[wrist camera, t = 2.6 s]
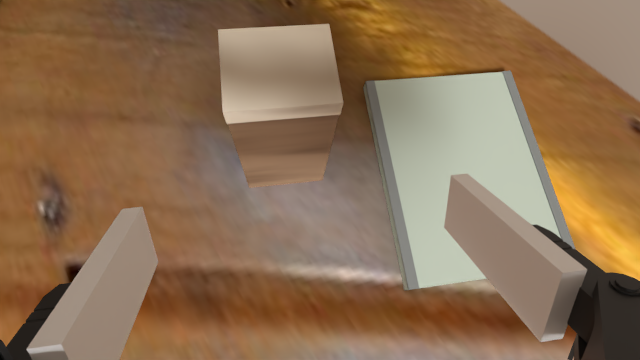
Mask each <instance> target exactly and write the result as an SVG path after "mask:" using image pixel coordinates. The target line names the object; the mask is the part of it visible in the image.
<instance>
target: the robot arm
mask: <svg viewBox="0 0 640 360" xmlns="http://www.w3.org/2000/svg"><path fill="white" fill-rule="evenodd" d="M444 228H445V229H446V230H447V231H448V233H449V234H450V235H451V236H452V237H453V239H454V240H455V241H456V242H457V243H458V245H459V246H460V247H461V248H462V249H463V250H464V252H465V253H466V254H467V255H468V256H469V258H470V259H471V260H472V261H473V262H474V264H475V265H476V266H477V267H478V268H479V270H480V271H481V272H482V273H483V274H484V276H485V277H486V278H487V279H488V280H489V281H490V283H491V284H492V285H493V286H494V287H495V289H496V290H497V291H498V292H499V293H500V295H501V296H502V297H503V298H504V299H505V301H506V302H507V303H508V304H509V305H510V306H511V308H512V309H513V310H514V311H515V312H516V314H517V315H518V316H519V317H520V318H521V320H522V321H523V322H524V323H525V324H526V326H527V327H528V328H529V329H530V330H531V331H532V333H533V334H534V335H535V336H536V337H537V339H538V340H539V341H540V342H544V341H550V340H556V339H562V338H563V336H564V333H565V330H566V328H567V325H569V326H570V327H571V328H572V329H573V330H574V331H575V332H576V333H577V335H576V338H575V341H574V343H573V346H572V348H571V351H570V354H569V356H568V359H569V360H572V359H573V357H574V360H640V281H638V280H637V279H635V278H632V277H629V276H626V275H624V274H618V273H605V272H604V271H603V270H601V269H600V268H599V267H598V266H596V265H595V264H594V263H592V262H591V261H590V260H588V259H587V258H586V257H584V256H583V255H582V254H581V253H579V252H578V251H577V250H575V249H572V247H571V246H570V245H569V244H568V243H566V242H563V240H562V239H561V238H560V237H558V236H557V235H556V234H554V233H553V232H552V231H550V230H548V229H546V228H543V227H541V226H539V225H537V224H536V225H531V224H530V223H529V222H527V221H526V220H525V219H524V218H522V217H521V216H520V215H519V214H517V213H516V212H515V211H514V210H512V209H511V208H510V207H509V206H507V205H506V204H505V203H504V202H502V201H501V200H500V199H499V198H497V197H496V196H495V195H494V194H492V193H491V192H490V191H489V190H487V189H486V188H485V187H483V186H482V185H481V184H480V183H478V182H477V181H476V180H475V179H473V178H472V177H471V176H470V175H468V174H457V175H451V179H450V186H449V194H448V202H447V209H446V217H445V224H444ZM157 264H158V259H157V256H156V252H155V249H154V245H153V242H152V238H151V235H150V232H149V228H148V225H147V221H146V218H145V214H144V211H143V208H142V207H136V208H127V209H122V210H121V212H120V213H119V214H118V216H117V217H116V219H115V220H114V222H113V223H112V225H111V226H110V228H109V229H108V231H107V232H106V233H105V235H104V236H103V238H102V239H101V241H100V242H99V244H98V245H97V247H96V248H95V250H94V251H93V252H92V254H91V255H90V257H89V258H88V260H87V261H86V263H85V264H84V266H83V267H82V268H81V270H80V271H79V273H78V274H77V276H76V277H75V279H74V280H73V282H72V283H67V284H59V285H58V286H57V287H55V288H54V289H53V290H52V291H50V292H49V293H48V294H47V295H45V296H44V297H43V298H42V300H41V301H40V303H39V304H38V305H37V307H36V308H35V309H34V312H33V313H31V315H30V316H29V317H28V319H27V320H26V323H25V324H23V325H22V327H21V328H20V329H19V331H18V332H17V333H16V335H15V336H14V337H13V339H12V340H11V341H10V343H9V344H8V345H7V347H6V346H5V345H4V343H3V341H1V340H0V360H119V359H120V356H121V354H122V351H123V349H124V346H125V344H126V341H127V339H128V336H129V334H130V331H131V329H132V326H133V324H134V321H135V319H136V316H137V314H138V311H139V309H140V306H141V304H142V301H143V299H144V296H145V294H146V291H147V289H148V286H149V284H150V281H151V279H152V276H153V274H154V271H155V269H156V266H157Z"/></svg>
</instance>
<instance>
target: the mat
mask: <svg viewBox="0 0 640 360" xmlns="http://www.w3.org/2000/svg"><path fill="white" fill-rule="evenodd" d="M363 89H364V94H365V99H366V104H367V109H368V114H369V118H370V123H371V128H372V133H373V138H374V143H375V148H376V153H377V158H378V163H379V168H380V173H381V177H382V182H383V187H384V192H385V197H386V202H387V207H388V212H389V217H390V222H391V227H392V232H393V236H394V241H395V246H396V251H397V256H398V261H399V266H400V271H401V276H402V281H403V286H404V290H411V289H418V288H425V287H431V286H438V285H445V284H452V283H459V282H466V281H473V280H480V279H487V278H486V277H485V276H484V274H483V273H482V272H481V271H480V270H479V268H478V267H477V266H476V265H475V264H474V262H473V261H472V260H471V259H470V258H469V256H468V255H467V254H466V253H465V252H464V250H463V249H462V248H461V247H460V246H459V245H458V243H457V242H456V241H455V240H454V239H453V237H452V236H451V235H450V234H449V233H448V231H447V230H446V229H445V228H444V224H445V217H446V209H447V202H448V194H449V186H450V179H451V175H457V174H468V175H470V176H471V177H472V178H473V179H475V180H476V181H477V182H478V183H480V184H481V185H482V186H483V187H485V188H486V189H487V190H489V191H490V192H491V193H492V194H494V195H495V196H496V197H497V198H499V199H500V200H501V201H502V202H504V203H505V204H506V205H507V206H509V207H510V208H511V209H512V210H514V211H515V212H516V213H517V214H519V215H520V216H521V217H522V218H524V219H525V220H526V221H527V222H529V223H530V224H531V225H536V224H537V225H539V226H541V227H543V228H546V229H548V230H550V231H552V232H553V233H554V234H556V235H557V236H558V237H560V238H561V239H562V240H563V242H566V243H568V244H569V245H570V246H571V247H572V249H575V247H574V244H573V241H572V238H571V236H570V233H569V230H568V227H567V225H566V222H565V219H564V216H563V214H562V211H561V208H560V205H559V202H558V200H557V197H556V194H555V191H554V189H553V186H552V183H551V180H550V178H549V175H548V172H547V169H546V167H545V164H544V161H543V158H542V156H541V153H540V150H539V147H538V145H537V142H536V139H535V136H534V134H533V131H532V128H531V125H530V123H529V120H528V117H527V114H526V112H525V109H524V106H523V103H522V100H521V98H520V95H519V92H518V89H517V87H516V84H515V81H514V78H513V76H512V73H511V71H503V72H494V73H480V74H466V75H452V76H438V77H424V78H410V79H396V80H382V81H374V80H373V81H366V82H365V85H364V88H363ZM575 250H576V249H575Z"/></svg>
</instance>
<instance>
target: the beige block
mask: <svg viewBox="0 0 640 360" xmlns="http://www.w3.org/2000/svg"><path fill="white" fill-rule="evenodd" d="M218 38H219V56H220V73H221V91H222V109H223V115H224V118H225V121H226V123H227V124H228V126H229V129H230V132H231V135H232V138H233V141H234V144H235V147H236V150H237V153H238V156H239V158H240V161H241V164H242V167H243V170H244V173H245V176H246V179H247V182H248V185H249V188H253V187H262V186H272V185H281V184H291V183H301V182H310V181H320V180H323V176H324V172H325V168H326V164H327V160H328V157H329V153H330V149H331V145H332V141H333V137H334V133H335V129H336V125H337V121H338V117H339V115H340V114H341V110H342V107H343V97H342V92H341V86H340V81H339V75H338V70H337V64H336V59H335V53H334V47H333V42H332V36H331V31H330V25H329V24H315V25H296V26H276V27H257V28H238V29H218Z"/></svg>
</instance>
